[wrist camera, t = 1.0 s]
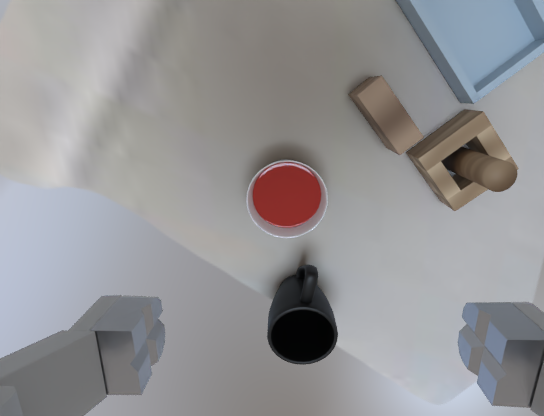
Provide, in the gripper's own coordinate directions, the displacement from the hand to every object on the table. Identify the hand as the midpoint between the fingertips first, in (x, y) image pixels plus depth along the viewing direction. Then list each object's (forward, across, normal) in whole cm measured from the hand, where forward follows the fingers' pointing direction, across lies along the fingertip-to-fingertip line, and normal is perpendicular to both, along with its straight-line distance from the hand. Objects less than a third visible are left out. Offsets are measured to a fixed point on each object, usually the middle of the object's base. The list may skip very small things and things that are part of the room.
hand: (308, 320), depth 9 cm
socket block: (+35, -19, +1) cm, 40 cm away
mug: (+36, -1, +18) cm, 40 cm away
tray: (+35, -19, -14) cm, 42 cm away
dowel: (+35, -19, +1) cm, 40 cm away
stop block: (+35, -10, -4) cm, 36 cm away
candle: (+35, +1, +5) cm, 35 cm away
